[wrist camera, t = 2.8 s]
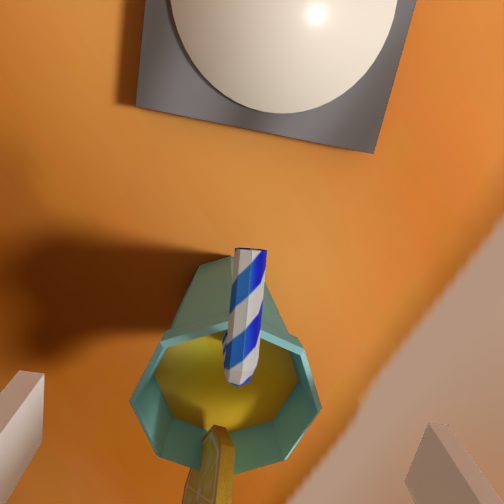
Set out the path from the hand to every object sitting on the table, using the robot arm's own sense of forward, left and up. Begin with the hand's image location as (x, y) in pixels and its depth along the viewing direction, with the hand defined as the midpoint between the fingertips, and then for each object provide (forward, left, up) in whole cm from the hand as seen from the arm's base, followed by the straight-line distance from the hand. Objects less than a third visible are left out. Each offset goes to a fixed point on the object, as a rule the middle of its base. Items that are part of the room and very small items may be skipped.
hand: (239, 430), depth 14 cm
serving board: (0, +16, -13) cm, 20 cm away
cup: (0, 0, -13) cm, 13 cm away
